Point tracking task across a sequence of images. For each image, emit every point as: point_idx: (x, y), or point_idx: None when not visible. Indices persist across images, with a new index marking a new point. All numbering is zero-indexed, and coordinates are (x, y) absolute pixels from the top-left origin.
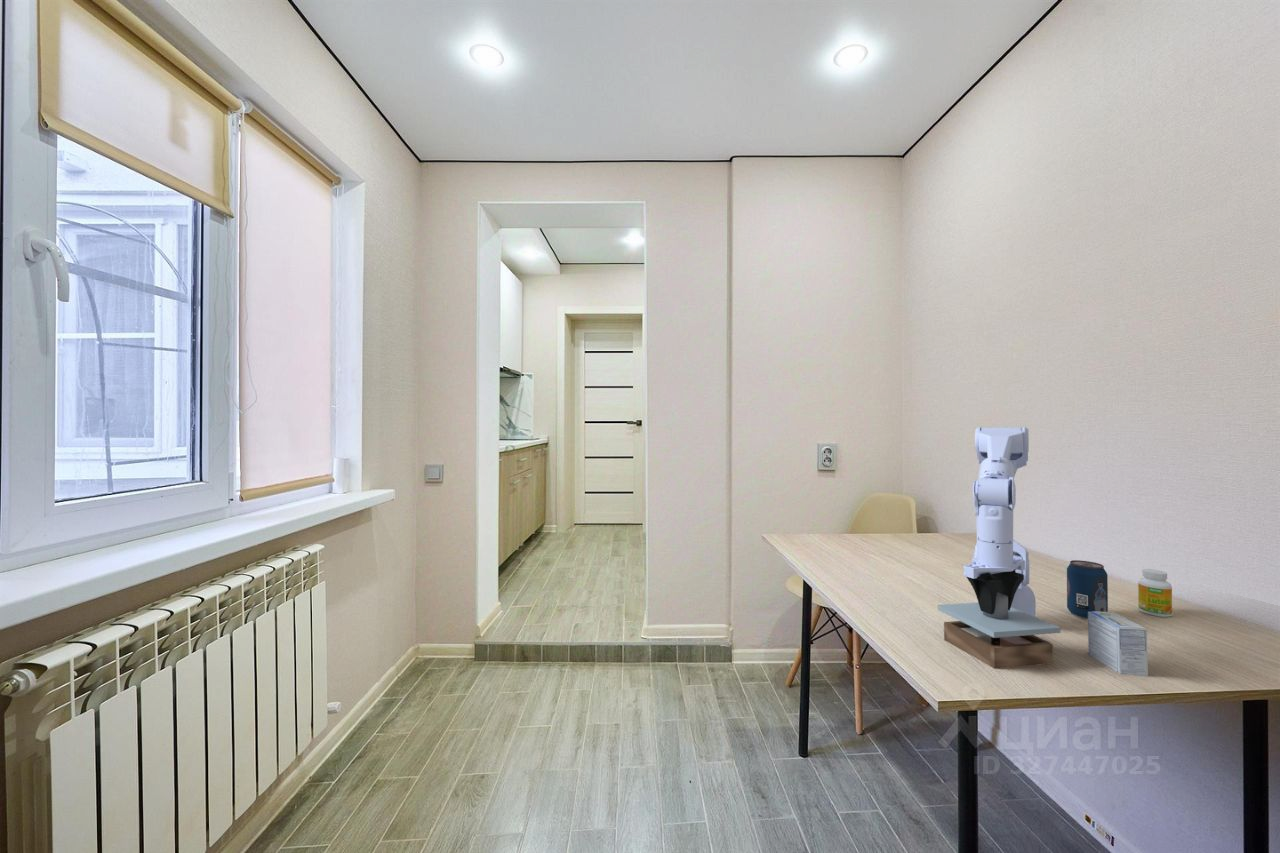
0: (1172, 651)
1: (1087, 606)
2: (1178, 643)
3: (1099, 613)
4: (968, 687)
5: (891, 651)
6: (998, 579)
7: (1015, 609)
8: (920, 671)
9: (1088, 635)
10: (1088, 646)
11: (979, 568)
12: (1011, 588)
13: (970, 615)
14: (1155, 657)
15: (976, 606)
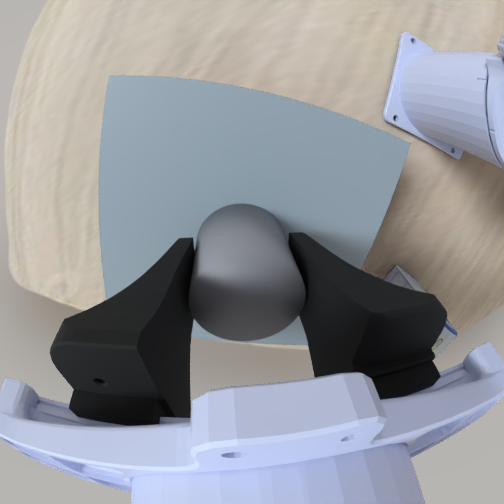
0: (476, 283)
1: None
2: (499, 270)
3: (437, 339)
4: (60, 277)
5: (11, 126)
6: (334, 338)
7: (375, 227)
8: (17, 214)
9: (414, 289)
10: (403, 275)
11: (61, 469)
12: (312, 359)
13: (140, 215)
14: (448, 290)
15: (270, 143)
